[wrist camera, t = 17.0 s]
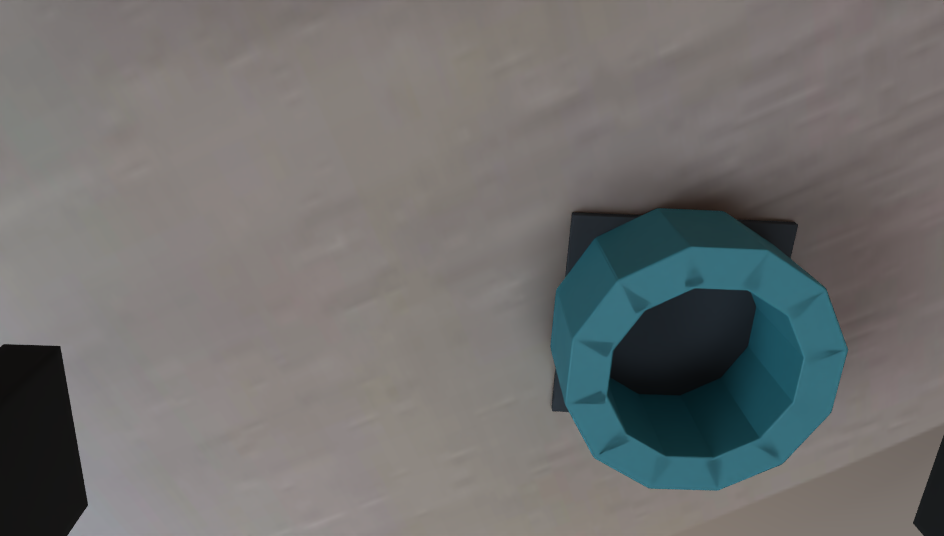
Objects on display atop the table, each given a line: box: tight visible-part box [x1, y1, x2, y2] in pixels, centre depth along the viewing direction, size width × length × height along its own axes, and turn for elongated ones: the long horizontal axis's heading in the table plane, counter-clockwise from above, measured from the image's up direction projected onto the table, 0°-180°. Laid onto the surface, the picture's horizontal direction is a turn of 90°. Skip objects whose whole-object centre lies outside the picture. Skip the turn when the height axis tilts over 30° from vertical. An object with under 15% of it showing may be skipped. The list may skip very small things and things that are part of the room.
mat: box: [552, 212, 798, 412], centre depth 34 cm, size 10×10×1 cm
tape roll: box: [550, 208, 848, 490], centre depth 31 cm, size 11×11×5 cm
